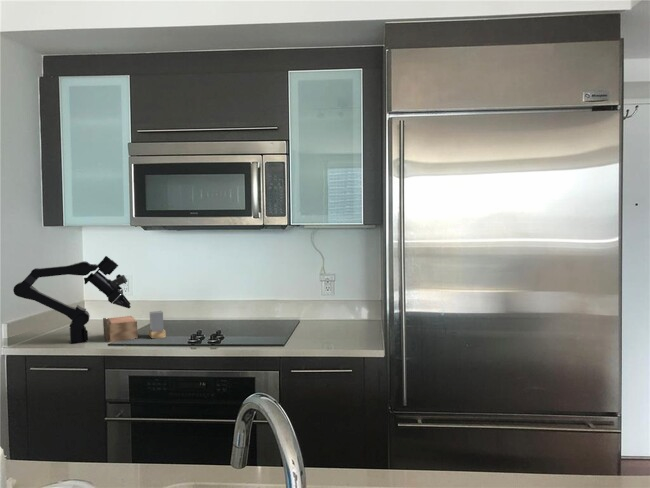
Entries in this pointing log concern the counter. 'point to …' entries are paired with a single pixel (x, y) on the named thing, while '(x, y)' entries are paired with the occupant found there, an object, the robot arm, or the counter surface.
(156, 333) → the oak plinth
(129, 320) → the terracotta flap
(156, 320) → the granite block
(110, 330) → the walnut frame
